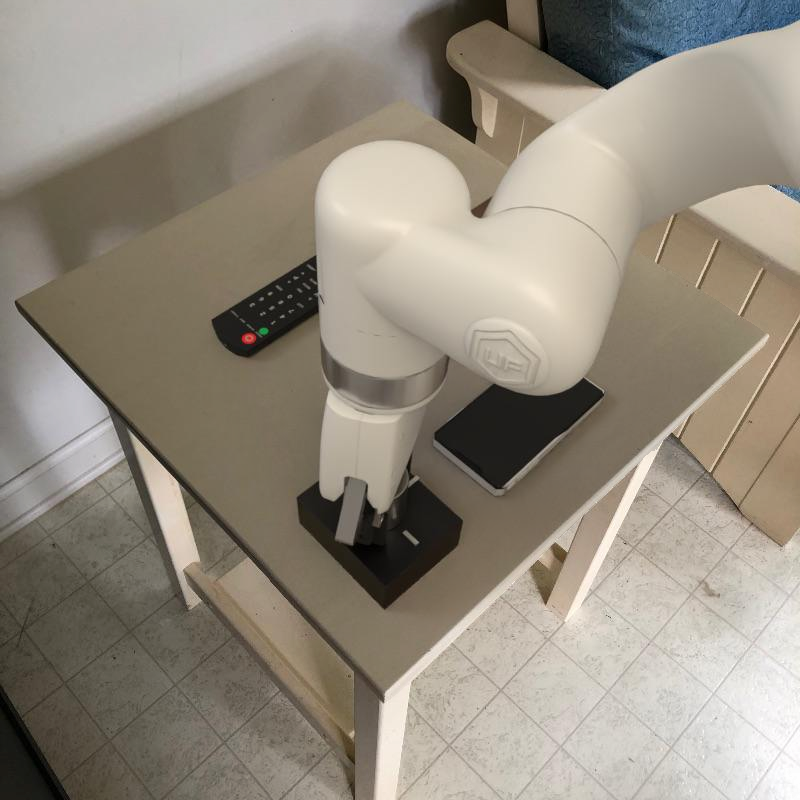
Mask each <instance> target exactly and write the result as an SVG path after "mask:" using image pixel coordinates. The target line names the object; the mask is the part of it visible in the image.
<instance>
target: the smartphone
mask: <svg viewBox="0 0 800 800" xmlns="http://www.w3.org/2000/svg"><path fill="white" fill-rule="evenodd" d="M605 394H606V391H605V390H604V389H603V388H601V387H600V386H599V385H597V384H596V383H594V382H593V381H591V380H590V379H589V378H587V377H586V376H584V377H583V378H582V379H581V380H580V381H579V382H578V383H577V384H575V385H574V386H573V387H571V388H569V389H567V390H565V391H563V392H560V393H557V394H552V395H544V396H535V395H528V394H523V393H518V392H515V391H512V390H509V389H507V388H504V387H502V386H499V385H497V384H495V383H492V384H491V385H490V386H489V387H487V388H486V389H485V390H484V391H483V392H482V393H481V394H479V395H478V396H477V397H476V398H474V399H473V400H472V401H470V403H468V404H467V405H466V406H464V407H462V408H461V409H460V410H459V411H457V412H456V413H455V414H454V415H452V417H450V418H449V419H448V420H447V421H446V422H445V423H444V424H443V425H442V426H440V427H439V428H438V429H437V430H436V431H435V432H434V433H433V438H432V446H433V447H434V448H435V449H436V450H438V451H439V452H440V453H441V454H442V455H444V456H445V457H446V458H448V459H449V461H451V462H452V463H453V464H455V465H456V466H457V467H458V468H460V469H461V470H462V471H463V472H465V473H466V474H467V475H468V476H470V477H471V478H472V479H473V480H474V481H476V483H478V484H479V485H481V486H482V487H483V488H484V489H485V490H487V491H488V492H489V493H490V494H492V495H493V496H494V497H497V496H498V497H499V496H501V497H502V496H503V495H504V494H506V493H507V492H509V490H511V489H512V488H513V487H514V486H515V485H516V484H518V482H520V481H521V480H523V478H524V477H525V476H526V475H527V474H528V473H529V472H531V471H532V470H533V469H534V468H535V467H536V466H537V465H538V464H539V462H540V461H541V460H542V459H543V458H544V457H545V456H546V455H547V454H548V453H549V452H550V451H552V450H553V449H554V448H555V447H556V446H557V445H558V444H559V443H560V442H561V441H562V440H563V439H565V438H566V437H567V436H568V435H569V434H570V433H571V432H572V431H573V430H574V429H575V428H576V427H577V426H578V425H580V424H581V423H582V421H584V420H585V419H586V418H587V417H588V416H589V415H590V414H592V412H593V411H595V409H597V407H599V406H600V405H601V404H602V402H603V400H604V397H605Z"/></svg>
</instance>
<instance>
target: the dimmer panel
mask: <svg viewBox="0 0 800 800" xmlns="http://www.w3.org/2000/svg"><path fill="white" fill-rule="evenodd" d="M420 480H421V478H420V477H419V476H418V475H417V474H416V475H414V474H412V472H410V477H409V482H408V493H407V504H406V513H405V516H404V518H403V520H402V521H401V523H400V524H399V525H397V526H396V527H395V528H393V529H390V530H388V531H387V540H386V542H385V545H383V546H381V545H377V544H374V543H371V544H370V545H365V544H361V543H358V542H356V543H355V544H354V545H353V546H351V545H348V544H345V543H342V542H338V541H335V536H336V532H337V527H338V523H339V518H340V514H341V510H342V505H343V498H344V492H343V493H342V494H341V496H340V497H339V498H338V499H337V500H335V501H331V500H328V499H326V498H323V496H322V495H321V492H320V488H319V480H318V481H317V482H315V483H314V484H312V485H311V486H309V487H307V489H306V490H304V491H303V492H301V493H300V494H298V496H296V506H297V513H298V521H299V524H300V525H301V526H302V527H303V528H304V529H305V530H306V531H307V532H308V533H309V535H311V536H312V537H313V539H315V540H316V541H317V542H318V543H319V545H320V546H321V547H322V548H324V550H325V551H326V552H328V554H329V555H330V556H331V557H332V558H333V559H334V560H335V561H336V562H337V563H338V564H339V565H340V566H341V567H342V568H343V569H344V570H345V571H346V573H347V574H349V575H350V576H351V577H352V578H353V580H355V581H356V583H358V584H359V586H360V587H361V588H362V589H363V590H364V591H365V592H366V593H367V594H368V595H369V596H370V597H371V598H372V599H373V600H374V601H375V602H376V603H377V604H378V605H379V607H381V608H382V609H383V610H387V609H388V608H389V607H390V606H391V605H392V604H393V603H394V602H395V601H396V600H397V599H399V598H400V597H401V596H402V595H404V593H406V592H407V591H408V590H409V589H410V588H411V587H412V586H413V585H415V584H416V583H417V582H418V581H419V580H420V579H421V578H423V577H424V576H425V575H426V574H427V573H428V572H430V570H432V569H433V568H434V567H435V566H437V565H438V564H439V563H440V562H441V561H442V560H443V559H444V558H446V556H448V555H449V554H450V553H451V552H452V551H453V550H454V549H456V548H457V547H458V546H459V543H460V538H461V533H462V529H463V524H464V519H462V518H461V517H460V516H459V515H457V513H456V512H455V511H453V510H452V509H451V508H450V507H449V506H448V505H446V504H445V502H444V501H442V500H441V499H440V498H439V497H438V496H437V495H436V494H435V493H434V492H432V491H431V489H429V488H428V487H427V486H426V485H425V484H423V482H421V481H420Z"/></svg>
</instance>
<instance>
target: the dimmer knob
mask: <svg viewBox="0 0 800 800" xmlns="http://www.w3.org/2000/svg"><path fill="white" fill-rule="evenodd" d="M408 482H409V475H408V471H407V469H406V468H405V471H404V473H403V476H402V478H401V481H400V483H399V486H398V488H397V491H396V493H395V496H394V498H393V501H392V503H391V505H390V507H389V509H388V510H387V511H385V512H387V513H388V514H389V518H388V530H390V529H393V528H395V527H396V526H397V525H399V524H400V523H401V521H402V520H403V518H404V516H405V513H406V504H407V493H408ZM366 503H367V504H370V502H369V501H368V500H366ZM370 505H371V504H370Z"/></svg>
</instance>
